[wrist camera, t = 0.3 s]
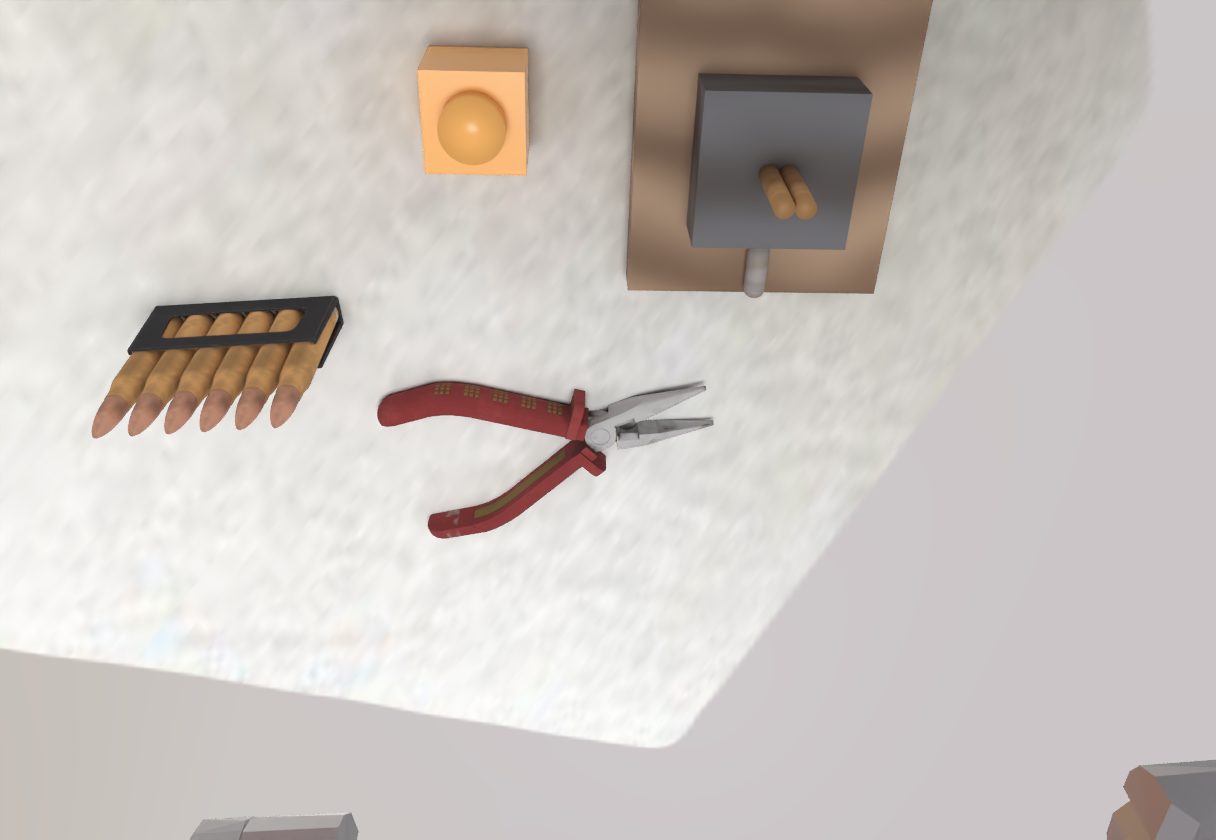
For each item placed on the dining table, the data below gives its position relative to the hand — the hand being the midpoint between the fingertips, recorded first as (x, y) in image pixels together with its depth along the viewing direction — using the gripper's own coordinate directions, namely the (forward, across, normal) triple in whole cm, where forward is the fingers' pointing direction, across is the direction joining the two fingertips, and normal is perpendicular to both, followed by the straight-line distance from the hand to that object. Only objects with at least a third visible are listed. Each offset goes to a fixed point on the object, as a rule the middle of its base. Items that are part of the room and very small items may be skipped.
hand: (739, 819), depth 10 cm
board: (+46, -8, +8) cm, 47 cm away
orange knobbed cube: (+46, +7, +5) cm, 47 cm away
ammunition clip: (+46, +22, +17) cm, 54 cm away
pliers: (+47, +6, +28) cm, 55 cm away
